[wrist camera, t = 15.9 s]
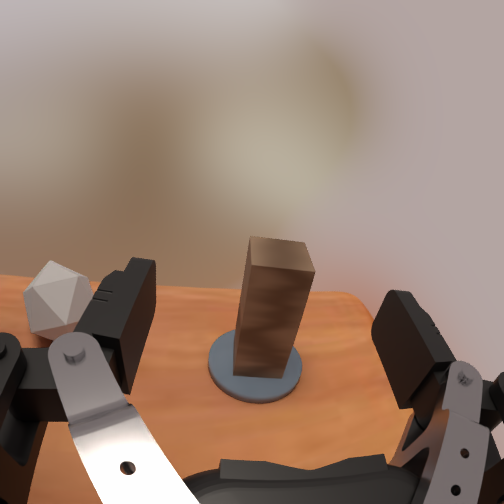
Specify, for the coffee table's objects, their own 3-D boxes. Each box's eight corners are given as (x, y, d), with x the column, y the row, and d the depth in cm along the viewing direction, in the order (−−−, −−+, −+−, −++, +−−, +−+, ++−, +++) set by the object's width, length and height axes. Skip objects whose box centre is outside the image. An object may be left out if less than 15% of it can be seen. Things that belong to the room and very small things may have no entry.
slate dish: (222, 411, 27) (223, 404, 27) (199, 340, 36) (199, 332, 35) (314, 391, 31) (317, 385, 30) (278, 330, 39) (280, 323, 39)
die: (117, 332, 35) (96, 251, 35) (83, 351, 26) (57, 248, 26) (64, 343, 35) (45, 268, 35) (24, 360, 26) (1, 269, 26)
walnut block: (232, 375, 30) (251, 264, 24) (233, 341, 35) (250, 235, 29) (281, 378, 31) (315, 271, 25) (277, 345, 35) (304, 242, 29)
